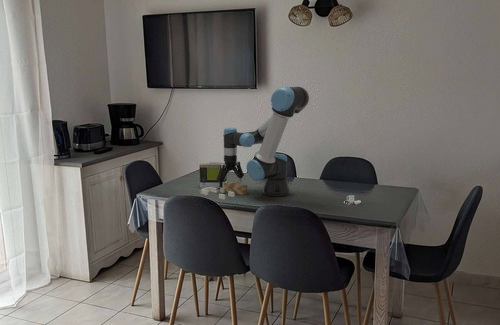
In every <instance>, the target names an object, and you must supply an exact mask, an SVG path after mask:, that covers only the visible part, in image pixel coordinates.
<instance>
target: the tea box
mask: <svg viewBox="0 0 500 325" xmlns="http://www.w3.org/2000/svg"><path fill="white" fill-rule="evenodd" d="M221 164H223V165H224V164H225V162H224V161H202V162H200V163H199V189H203V188H207V187H213V188H217V189H220V186H219V181H217V177H218V174H219V170H220V165H221ZM223 182H228V178H227V175H226V177H225V179H224V181H223Z"/></svg>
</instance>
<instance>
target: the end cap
mask: <svg viewBox="0 0 500 325" xmlns="http://www.w3.org/2000/svg"><path fill="white" fill-rule="evenodd" d="M218 189H219V188H213V187H207V188H199V194H200V195H204V196H208V195H209V193H210V192H211V193H215V194H217V193H218Z"/></svg>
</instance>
